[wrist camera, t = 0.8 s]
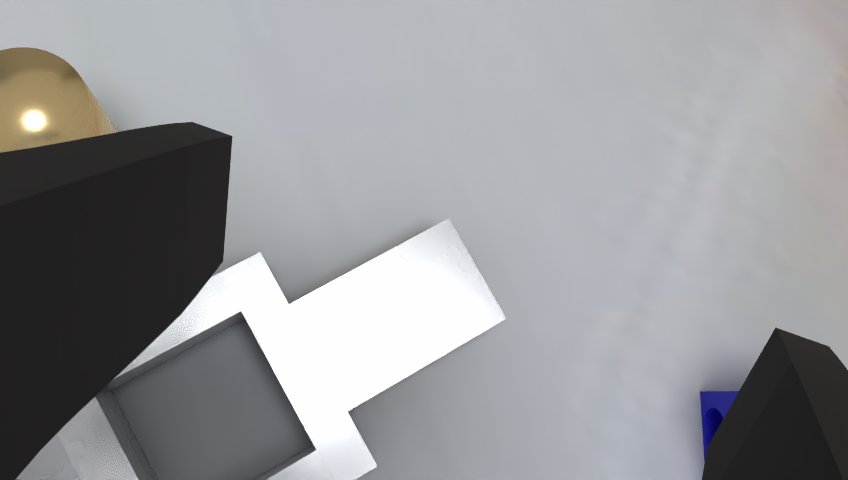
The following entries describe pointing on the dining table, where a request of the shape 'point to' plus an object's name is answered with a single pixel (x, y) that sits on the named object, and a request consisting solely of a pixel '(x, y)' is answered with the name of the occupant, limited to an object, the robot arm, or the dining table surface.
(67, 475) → the chain
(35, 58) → the brass pin
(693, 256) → the dining table surface
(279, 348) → the chain
